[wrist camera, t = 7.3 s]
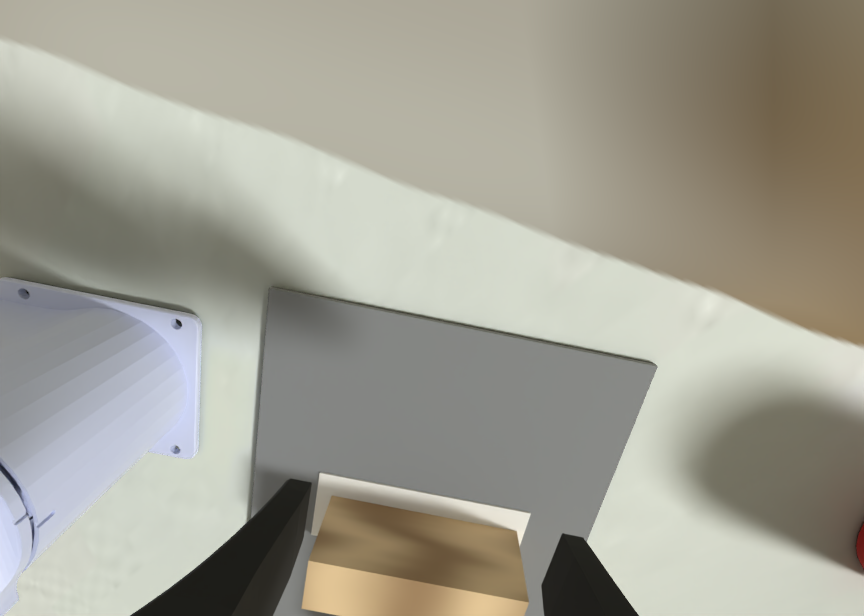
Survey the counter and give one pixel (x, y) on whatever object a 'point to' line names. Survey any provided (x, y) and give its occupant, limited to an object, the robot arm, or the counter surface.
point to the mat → (438, 424)
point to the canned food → (861, 546)
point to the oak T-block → (411, 565)
